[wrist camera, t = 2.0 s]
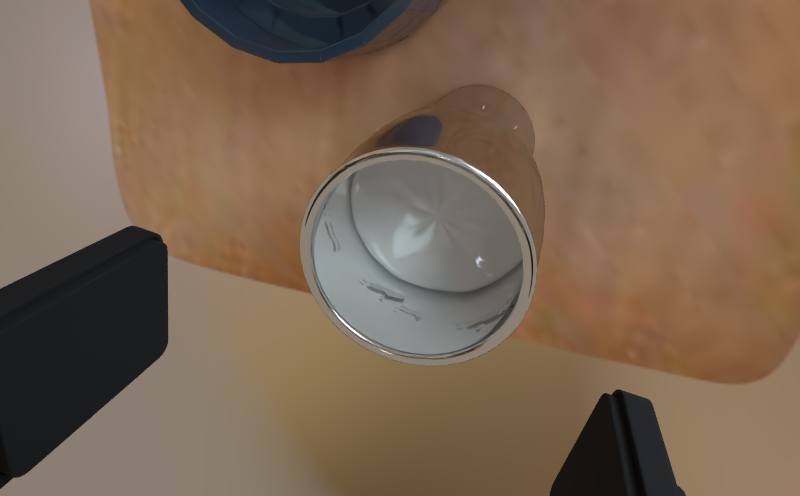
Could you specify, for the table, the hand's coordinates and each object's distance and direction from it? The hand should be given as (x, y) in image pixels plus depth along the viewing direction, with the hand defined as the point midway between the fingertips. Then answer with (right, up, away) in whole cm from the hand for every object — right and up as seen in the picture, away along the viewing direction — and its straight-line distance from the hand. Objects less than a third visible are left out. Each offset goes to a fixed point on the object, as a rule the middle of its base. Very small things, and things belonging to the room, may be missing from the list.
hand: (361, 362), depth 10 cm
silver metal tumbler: (+5, +8, +16) cm, 19 cm away
